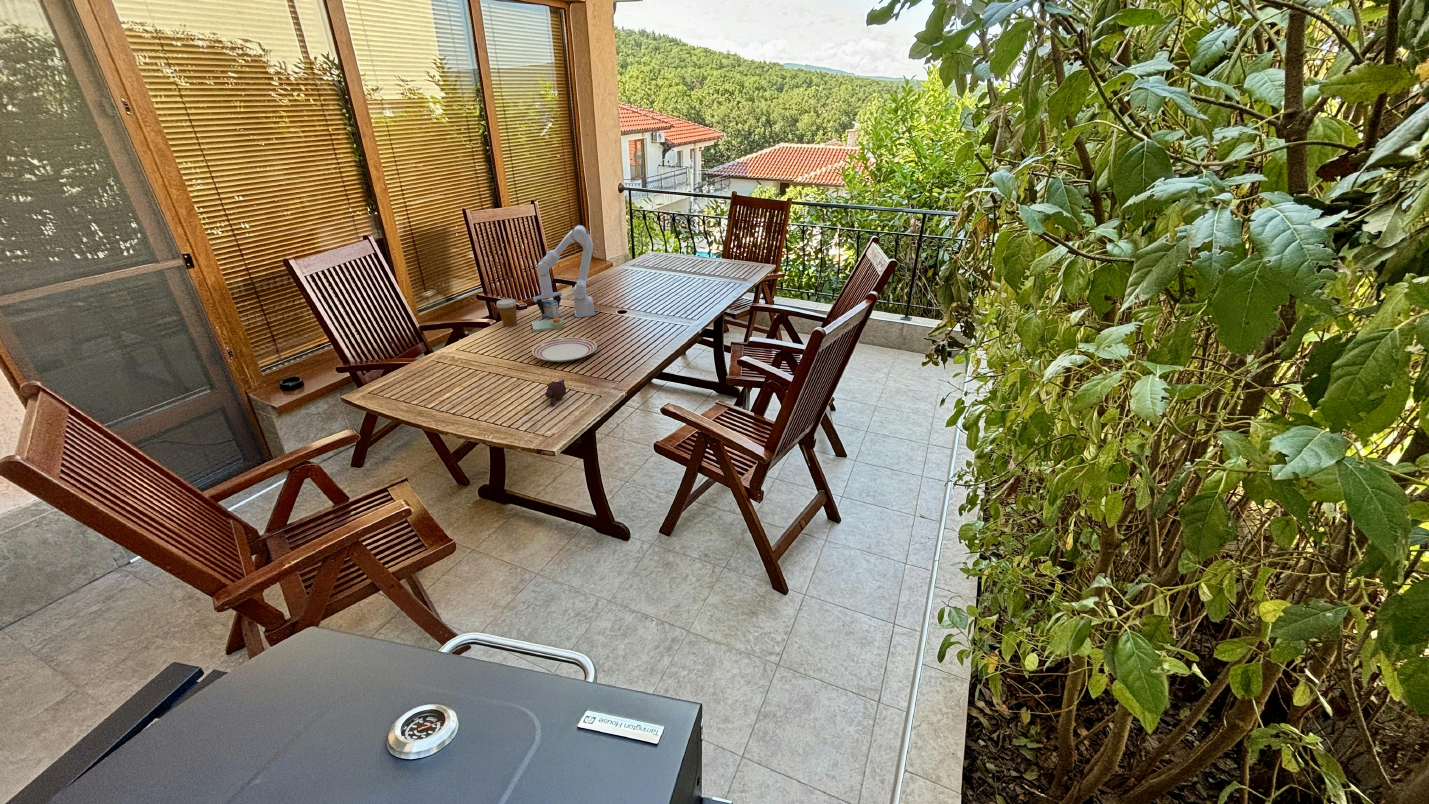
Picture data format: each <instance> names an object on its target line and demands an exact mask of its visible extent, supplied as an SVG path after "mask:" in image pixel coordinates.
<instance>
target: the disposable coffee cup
mask: <svg viewBox="0 0 1429 804" xmlns="http://www.w3.org/2000/svg"><path fill="white" fill-rule="evenodd" d="M495 306H496V308H497V310H498V313H499V316H500V318H501V322H502V323H503V327H506V328H510V327H515V326H517V325H518V318H517V301H516V300H515V299H514V298H502V299H499V300H497V301H496V305H495Z"/></svg>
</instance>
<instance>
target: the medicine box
mask: <svg viewBox="0 0 1429 804" xmlns="http://www.w3.org/2000/svg"><path fill="white" fill-rule="evenodd" d="M541 301H542V302H543V307H544V315H543V314H541V318H544V319H554V318H560V311H559V310H558V303H557V300H553V299H544V300H541Z"/></svg>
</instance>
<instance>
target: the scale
mask: <svg viewBox="0 0 1429 804" xmlns="http://www.w3.org/2000/svg"><path fill="white" fill-rule="evenodd" d="M530 324H531V328H532V332H533V333H539V332H547V331H553V330H562V329H564V320H563V319H561V318H560V322H559V323H553V319H552V318H549V319H544V320H536V321H531V322H530Z"/></svg>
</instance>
